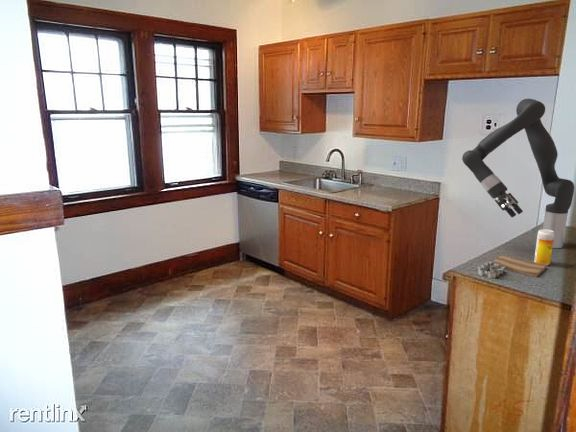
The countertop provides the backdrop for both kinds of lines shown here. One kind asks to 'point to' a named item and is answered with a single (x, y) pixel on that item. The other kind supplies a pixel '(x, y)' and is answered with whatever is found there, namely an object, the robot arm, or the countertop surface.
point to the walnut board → (520, 266)
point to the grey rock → (493, 267)
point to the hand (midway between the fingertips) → (517, 214)
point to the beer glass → (544, 246)
